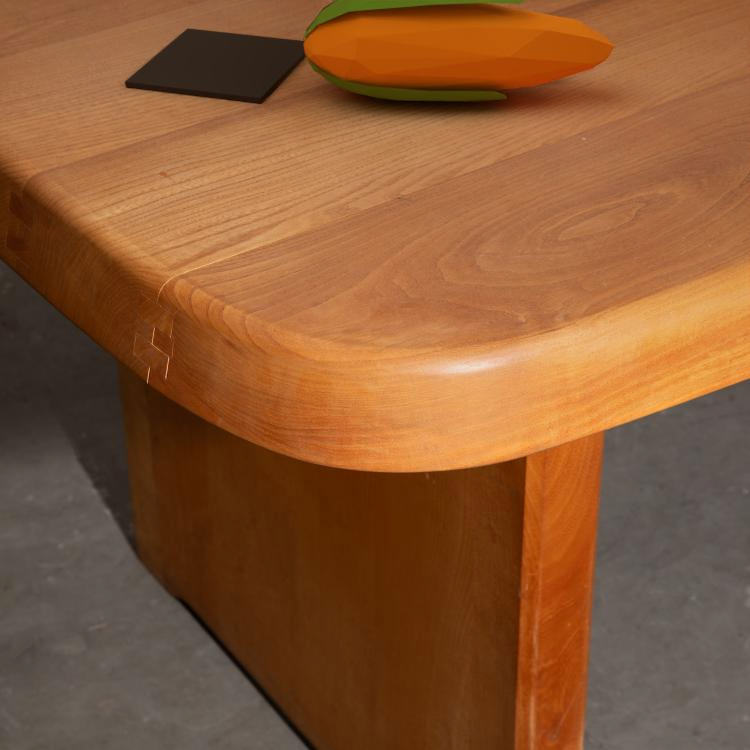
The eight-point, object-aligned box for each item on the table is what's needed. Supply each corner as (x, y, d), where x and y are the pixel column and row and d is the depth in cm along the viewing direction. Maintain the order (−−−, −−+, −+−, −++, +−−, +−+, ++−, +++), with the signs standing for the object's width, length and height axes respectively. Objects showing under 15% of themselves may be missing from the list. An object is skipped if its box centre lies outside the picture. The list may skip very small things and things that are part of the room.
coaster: (315, 47, 103) (315, 41, 103) (261, 103, 96) (260, 97, 95) (187, 33, 106) (187, 28, 106) (125, 87, 98) (124, 81, 98)
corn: (307, -40, 95) (615, -39, 93) (314, 66, 100) (607, 69, 98) (293, 9, 89) (620, 10, 88) (301, 119, 94) (612, 123, 92)
